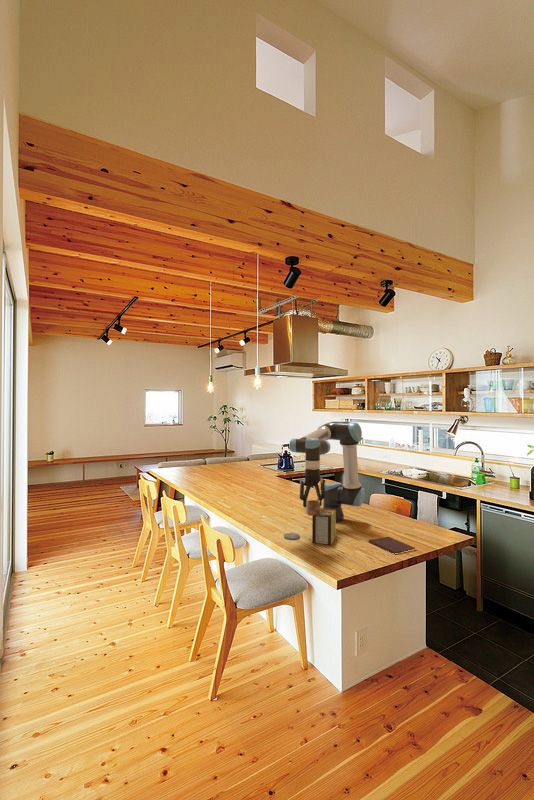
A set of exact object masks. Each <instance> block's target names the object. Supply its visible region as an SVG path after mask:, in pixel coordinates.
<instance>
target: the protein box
mask: <svg viewBox="0 0 534 800" xmlns="http://www.w3.org/2000/svg"><path fill="white" fill-rule="evenodd" d="M311 516H312V522H311V523H312V525H311V526H312V529H311V530H312V533H311V535H312V536H311V537H312V538H311V542H312V544H318V545H325V546H326V545H328V546H332V544H333V542H334V540H335V538H336V534H337V533H336V532H337V529H336V527H337V522H336V509H327V508H323V507H320V515H311Z"/></svg>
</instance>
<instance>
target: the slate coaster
mask: <svg viewBox="0 0 534 800" xmlns="http://www.w3.org/2000/svg"><path fill="white" fill-rule="evenodd" d="M283 538H284V539H285V540H289V541H293V540H294V541H296V540H299V539H300V538H301V535H300V534H298V533H295V532H289V533H288V532H287V533H285V534H283Z"/></svg>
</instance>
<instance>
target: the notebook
mask: <svg viewBox="0 0 534 800" xmlns="http://www.w3.org/2000/svg"><path fill="white" fill-rule="evenodd" d="M368 543H369V544H371V545H374V546H376V547H378V548H380V549H382V550H384V551H386V550H387V551H386V552H388V551H389V552H388V553H390V552H391V553H390V554H392V553H394V554H395V553H401V552H404V551H408V550H412V549H415V548H416V547H414V546H412V545H409V544H407V543H405V542H402V541H400V540H397V539H395V538H393V537H391V536H385V537H379V538H371V539H368ZM394 554H393V555H394ZM401 554H402V553H401ZM395 555H396V554H395Z"/></svg>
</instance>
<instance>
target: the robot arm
mask: <svg viewBox="0 0 534 800" xmlns="http://www.w3.org/2000/svg"><path fill="white" fill-rule="evenodd" d="M362 435H363V432H362V428H361V425H359V423H358V422H355V421H354V422H352V421H330V422H326V423H324V424H321V425H320V426H318V428H317V429H316V430H314V431H312V432H310V433H308V434H307V435H304V436H302V437H300V438H291V439H290V441H289V444H288V445H289V451H290V452H292V453H297V454H305V458H304V459H305V460H304V461H305V465H304V466H305V469H304V471H305V472H304V476H305V477H304V479H302V480H299V485H300V487H299V500H301V501H302V506H303V508H304V513H305V514H306V515H308V501H309V500H308V497H309V494H310V491H311V488H312V487H314V489H315V493H316V495H317V499H316V501H317V502H319V503H320V507H322V508H327V509H336V523H337V522H342V521H344V520H345V515H344V511H343V508H342V505H346V506H351V507H361V506H363V503H364V501H365V498H366V497H365V496H366V489H365V488H364V487H362V483H360V481H359V469H358V468H359V467H358V465H359V464H358V448H357V446H358V445H359V442H361V441H362V438H363V437H362ZM329 440H333V441H339V445H340V446H342V447H341V448H342V458H343V474H344V482H343V483H341V482H336V481H334V482H327V483H326V480H325V479H324V478H321V476H320V474H321V469H320V468H321V461H320V460H321V456H322V455H326V454H327V453H329V451H331V443H330V442H329ZM305 483H306V485H305ZM319 483H320V485H319ZM322 501H323V502H322ZM322 504H323V505H322Z"/></svg>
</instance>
